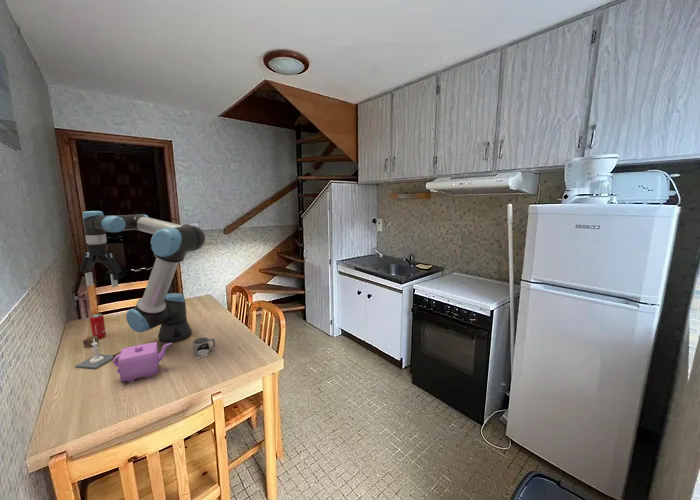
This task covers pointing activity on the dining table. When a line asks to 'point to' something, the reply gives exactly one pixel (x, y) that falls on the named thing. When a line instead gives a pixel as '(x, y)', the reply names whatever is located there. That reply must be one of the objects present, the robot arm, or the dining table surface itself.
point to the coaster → (89, 365)
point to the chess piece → (96, 354)
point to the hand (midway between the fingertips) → (102, 285)
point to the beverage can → (98, 326)
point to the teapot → (139, 361)
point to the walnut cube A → (89, 341)
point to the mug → (202, 346)
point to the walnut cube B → (116, 355)
